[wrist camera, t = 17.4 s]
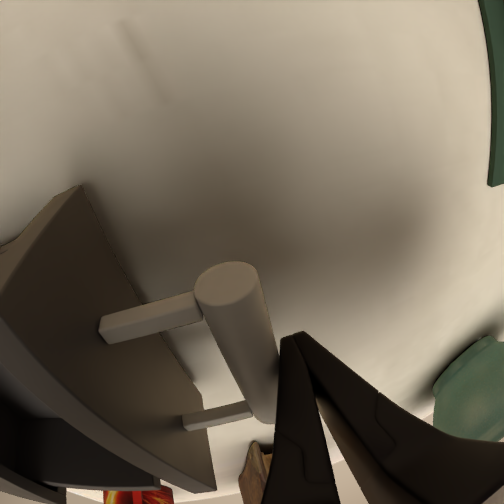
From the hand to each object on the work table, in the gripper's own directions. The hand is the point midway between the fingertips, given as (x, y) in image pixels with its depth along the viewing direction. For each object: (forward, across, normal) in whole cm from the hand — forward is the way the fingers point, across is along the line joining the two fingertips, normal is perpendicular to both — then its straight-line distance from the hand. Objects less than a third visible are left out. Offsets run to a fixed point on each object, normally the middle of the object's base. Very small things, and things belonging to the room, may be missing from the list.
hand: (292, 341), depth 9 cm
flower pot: (+4, -20, +22) cm, 30 cm away
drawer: (+3, +10, 0) cm, 10 cm away
